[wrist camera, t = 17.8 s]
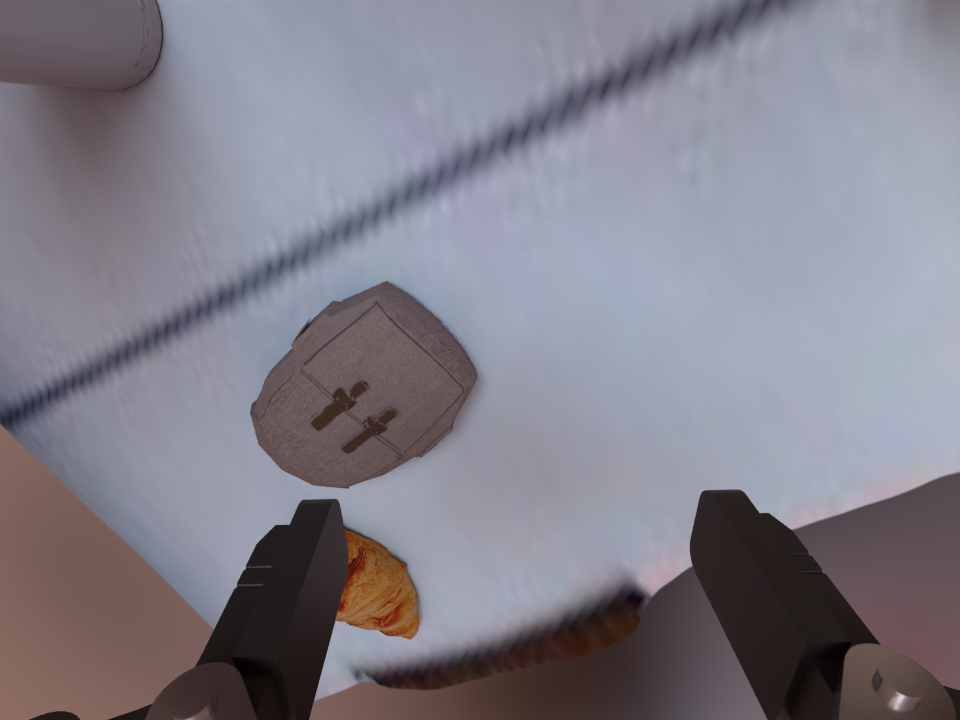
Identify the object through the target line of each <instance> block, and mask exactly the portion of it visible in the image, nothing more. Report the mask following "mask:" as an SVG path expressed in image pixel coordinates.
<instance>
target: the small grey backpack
mask: <svg viewBox="0 0 960 720" xmlns="http://www.w3.org/2000/svg"><path fill="white" fill-rule="evenodd" d="M310 319H311V318H310ZM310 319H309V320H310ZM309 320H308V322H309ZM308 322H307V323H306V324H305V326H304V327H303V328H302V329H301V331H300V332H299V334H298V335H297V337H296V338H295V340H294V341H293V343H292V349H291V350H290V351H289V352H288V353H287V354H286V355H285V356H284V357H283V358H282V359H281V361H280V362H279V363H278V364H277V365H276V366H275V367H274V368H273V369H272V370H271V371H270V373H269V375H268V376H267V378H266V379H265V382H264V385H263V388H262V390H261V393H260V395H259V397H258V399H257V400H256V401H255V402H253V403H252V407H251V412H250V414H251V418H252V422H253V425H254V429H255V432H256V436H257V440H258V443H259V445H260V446H261V447H262V448H263V450H264V451H265V452H266V453H267V454H268V455H269V456H270V457H271V458H272V459H273V461H274V462H275V463H276V464H277V465H278V466H279V467H280V468H281V469H282V470H283V471H285V472H287V473H289V474H291V475H294V476H296V477H298V478H300V479H302V480H304V481H306V482H308V483H310V484H312V485H316V486H326V487H337V488H347V489H349V486H352V485H355V484H357V483H360V482H363V481H366V480H369V479H372V478H375V477H378V476H381V475H384V474H386V473H388V472H389V471H391V470H393V469H394V468H396V467H398V466H400V465H401V464H403V463H405V462H407V461H408V460H410V459H412V458H413V457H422V456H424V455H425V454H426V453H427V452H428V451H430V450H431V449H432V448H433V447H434V446H436V445H437V444H438V442H439V441H441V440H442V439H443V438H444V437H445V436H446V435H447V434H448V433H450V432H451V431H452V427H453V423H454V419H455V417H456V415H457V414H458V412H459V410H460V409H461V407H462V405H463V403H464V402H465V400H466V398H467V396H468V395H469V393H470V391H471V390H472V388H473V386H474V384H475V382H476V379H477V374H476V371H475V368H474V366H473V364H472V362H471V361H470V359H469V358H468V356H467V354H466V353H465V351H464V350H463V348H462V346H461V345H460V344H459V342H458V341H457V340H456V339H455V338H454V337H453V336H452V335H451V333H450V332H449V331H448V330H447V329H446V328H445V327H444V326H443V324H442V323H441V322H440V321H439V320H438V319H437V318H436V317H435V316H433V315H432V314H431V313H430V312H429V311H428V310H427V309H425V308H424V307H423V306H422V305H421V304H420V303H419V302H417V301H416V300H415V299H414V298H413V297H411V296H410V295H408V294H407V293H405V292H403V291H402V290H400V289H399V288H397V287H395V286H394V285H392V284H391V283H389V282H387V281H386V282H384V283H381V284H379V285H377V286H374V287H372V288H370V289H368V290H365V291H363V292H361V293H359V294H356V295H354V296H352V297H349V298H347V299H345V300H343V301H342V302H335V301H333V302H331V303H330V304H329V305H328V306H327V307H326V308H325V309H324V310H323V311H322V312H320V313H319V314H318V315H317V316H316V317H315V318H314V319H313V320H312V321H311V322H309V323H308Z"/></svg>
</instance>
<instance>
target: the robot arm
mask: <svg viewBox="0 0 960 720" xmlns="http://www.w3.org/2000/svg"><path fill="white" fill-rule="evenodd" d="M161 41H162V31H161V20H160V15H159V11H158V6H157V4H156V1H155V0H0V82H4V83H18V84H32V85H46V86H60V87H71V88H85V89H99V90H120V89H126V88H129V87H131V86H134V85H136V84H138V83H139V82H140V81H142V80H143V79H144V78H146V77H147V76H148V74H149V73H150V72H151V70H152V69H153V68H154V66H155V64H156V61H157V59H158V56H159V54H160V47H161ZM690 555H691V561H692V565H693V568H694V570H695V573H696V574H697V577H698V578H699V581H700V583H701V585H702V587H703V589H704V591H705V593H706V595H707V597H708V599H709V601H710V603H711V605H712V607H713V609H714V611H715V613H716V615H717V617H718V619H719V621H720V623H721V626H722V628H723V629H724V632H725V633H726V636H727V638H728V640H729V642H730V644H731V646H732V648H733V650H734V652H735V654H736V656H737V658H738V660H739V662H740V664H741V666H742V668H743V670H744V672H745V674H746V676H747V678H748V680H749V683H750V685H751V687H752V688H753V691H754V693H755V695H756V697H757V699H758V701H759V702H760V705H761V707H762V709H763V711H764V713H765V715H766V717H767V719H768V720H960V690H956V689H952V688H949V687H946V686H943V685H942V684H941V683H940V682H939V681H938V680H937V679H936V678H935V677H934V675H933V674H931V673H930V672H929V671H928V670H927V669H926V668H924V667H923V666H922V665H921V664H919V663H918V662H916V661H915V660H913V659H911V658H910V657H908V656H907V655H905V654H903V653H901V652H899V651H896V650H894V649H892V648H889V647H885V646H882V645H880V643H879V642H878V641H877V640H876V638H875V637H874V636H873V635H872V633H871V632H870V631H869V629H868V628H867V627H866V626H865V624H864V623H863V622H862V620H861V619H860V618H859V617H858V615H857V614H856V613H855V611H854V610H853V609H852V607H851V606H850V605H849V604H848V602H847V601H846V600H845V598H844V597H843V596H842V595H841V593H840V592H839V591H838V589H837V588H836V587H835V585H834V584H833V583H832V582H831V580H830V579H829V578H828V576H827V575H826V574H823V573H822V569H821V567H820V566H819V565H818V563H817V562H816V561H815V560H814V558H813V557H812V556H809V554H808V550H807V549H806V548H805V547H804V545H803V544H802V543H801V541H800V540H799V539H798V538H797V536H796V535H795V534H794V532H793V531H792V530H791V529H789V528H788V527H787V526H785V525H784V524H783V523H781V522H780V521H779V520H777V519H776V518H775V517H773V516H772V515H771V514H769V513H759V512H758V511H757V509H756V508H755V506H754V505H753V504H752V502H751V501H750V500H749V498H748V497H747V495H746V494H745V493H744V492H743V491H741V490H705V491H703V492H702V493H701V495H700V499H699V503H698V508H697V512H696V517H695V521H694V526H693V531H692V535H691V540H690ZM348 559H349V557H348V547H347V541H346V536H345V530H344V525H343V519H342V514H341V508H340V504H339V501H338V500H337V499H320V500H302V501H301V502H300V503H299V505H298V507H297V510H296V512H295V514H294V517H293V519H292V521H291V523H290V525H275V526H274V527H273V528H272V529H271V530H270V531H269V532H268V533H267V534H266V535H265V536H264V537H263V538H262V539H261V540H260V541H259V542H258V543H257V545H256V547H255V549H254V551H253V553H252V555H251V557H250V559H249V561H248V563H247V565H246V570H244V571H243V573H242V575H241V577H240V579H239V581H238V583H237V588H235V589H234V591H233V593H232V595H231V597H230V599H229V601H228V603H227V605H226V607H225V609H224V611H223V613H222V615H221V617H220V619H219V621H218V623H217V625H216V627H215V629H214V631H213V633H212V635H211V637H210V640H209V641H208V643H207V645H206V647H205V649H204V652H203V653H202V655H201V657H200V659H199V661H198V663H197V664H196V666H195V667H194V668H192V669H190V670H188V671H186V672H184V673H183V674H181V675H180V676H178V677H177V678H176V679H174V680H173V681H172V682H170V684H168V685H167V686H166V687H165V688H164V689H163V690H162V692H161V693H160V694H159V695H158V696H157V698H156V699H155V701H154V702H153V703H152V704H150V705H148V706H146V707H143V708H141V709H138V710H135V711H133V712H129V713H126V714H124V715H121V716H118V717H115V718H112V719H109V720H309V717H310V714H311V709H312V706H313V702H314V699H315V695H316V691H317V687H318V684H319V680H320V676H321V672H322V669H323V665H324V661H325V657H326V654H327V650H328V646H329V642H330V639H331V635H332V631H333V627H334V624H335V620H336V616H337V612H338V609H339V605H340V601H341V597H342V594H343V590H344V586H345V582H346V578H347V573H348ZM30 720H80V719H79V718H78V717H77V716H76V715H74V714H73V713H69V712H64V711H60V712H59V711H57V712H51V713H46V714H43V715H40V716H37V717H35V718H33V719H30Z"/></svg>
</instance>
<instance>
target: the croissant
mask: <svg viewBox="0 0 960 720" xmlns="http://www.w3.org/2000/svg"><path fill="white" fill-rule="evenodd" d="M344 530H345V536H346V541H347V547H348V557H349V559H348V573H347V578H346V582H345V586H344V590H343V594H342V597H341V601H340V605H339V609H338V612H337V616H336V621H345V622H346V623H348V624H349V625H353V626H355V627H359V628H363V629H366V630H379V631H380V632H382V633H383V634H385V635H388V636H402V637H404V638H407V639H412V638H413V637H414V636H415V635H416V634H417V631H418V627H419V617H418V602H417V596H416V593H415V589H414V586H413V584H412V582H411V581H410V578H409V576H408V574H407V572H406V567H407V565H406V564H405V563H402V562H400V561H398V560H396V559H395V558H393V557H391V555H390V554H389V552H388V551H387V550H386V548H384V547H382V546H381V545H379V544H378V543H377V542H375V541H373V540H371V539H369V538H365V537H362V536H360V535H358V534H356V533H354V532H351V531H348V530H347V529H345V528H344Z"/></svg>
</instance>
